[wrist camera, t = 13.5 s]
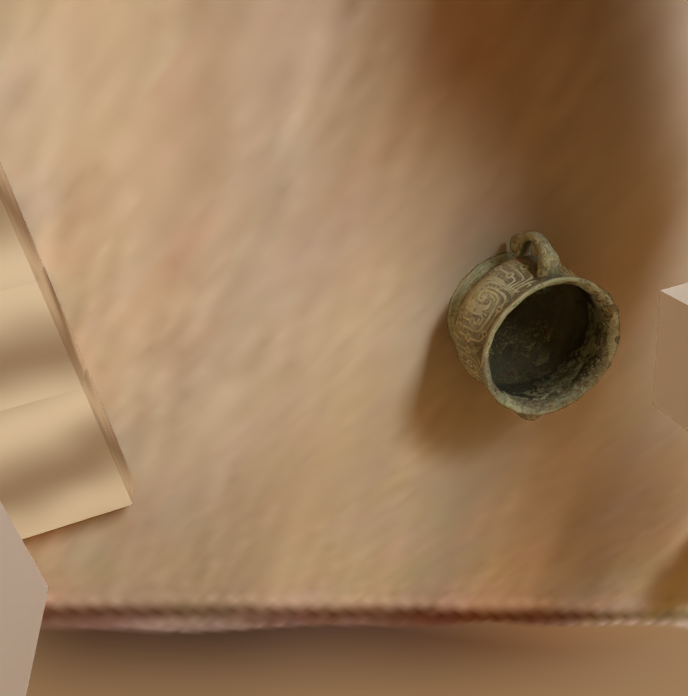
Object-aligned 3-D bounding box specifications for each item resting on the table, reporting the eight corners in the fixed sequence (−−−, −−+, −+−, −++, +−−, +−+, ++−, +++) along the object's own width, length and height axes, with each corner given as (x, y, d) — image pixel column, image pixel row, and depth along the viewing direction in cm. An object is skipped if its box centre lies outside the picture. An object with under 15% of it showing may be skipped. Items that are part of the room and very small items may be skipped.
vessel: (438, 226, 38) (487, 257, 33) (571, 208, 40) (638, 235, 35) (436, 402, 44) (478, 454, 38) (553, 378, 46) (610, 425, 40)
